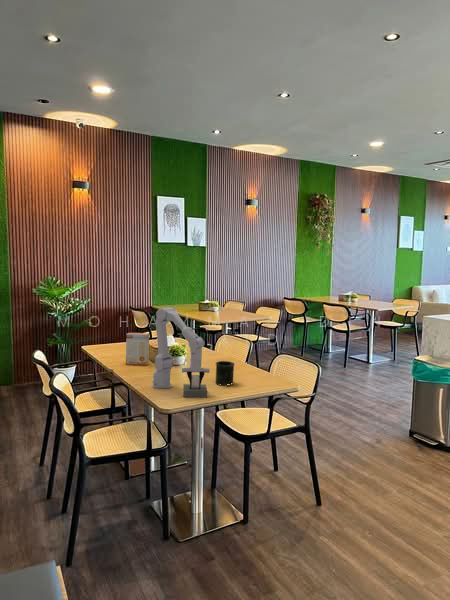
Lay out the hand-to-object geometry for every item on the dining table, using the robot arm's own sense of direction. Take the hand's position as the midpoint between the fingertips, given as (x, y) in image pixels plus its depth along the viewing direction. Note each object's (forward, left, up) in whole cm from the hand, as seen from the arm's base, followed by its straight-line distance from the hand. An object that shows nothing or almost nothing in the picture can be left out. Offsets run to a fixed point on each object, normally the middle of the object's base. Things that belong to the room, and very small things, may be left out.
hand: (195, 385), depth 237 cm
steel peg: (0, 0, -3) cm, 3 cm away
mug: (+17, +22, -5) cm, 28 cm away
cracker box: (-36, +64, -5) cm, 74 cm away
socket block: (0, 0, -4) cm, 4 cm away
